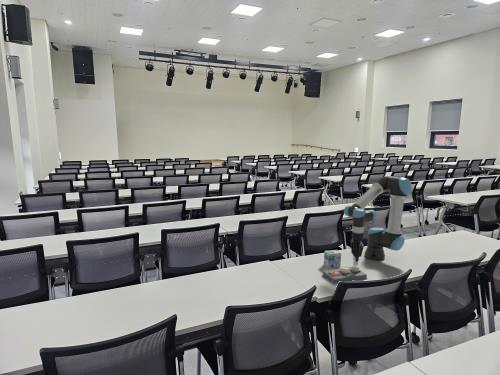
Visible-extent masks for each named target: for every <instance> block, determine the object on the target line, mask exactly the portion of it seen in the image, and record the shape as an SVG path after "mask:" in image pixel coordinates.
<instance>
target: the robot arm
mask: <svg viewBox="0 0 500 375" xmlns="http://www.w3.org/2000/svg"><path fill="white" fill-rule="evenodd" d="M384 192H389V196H390V198H391V200H390V207H389V213H388V223H387V228H386V229H385V228H384V227H371V228H369V229H368V233H367V246H366V248H365V244H364V243H363V239H364V235H365V234H364V232H365V223H368V222H372V221H375V220H376V219H377V215H378V214H377V211H375V210H374V209H366V207H367V206H369V204H370V203H372V202H373V200H375V199H376V198H377V197H378V196H379V195H380V194H383V193H384ZM411 192H412V182H411V180H410V179H408V178H406V177H401V176H391V175H387V176H386V175H385V176H382V177H380V178H379V179H377V180H376V181H375V182H374V183H372V185H371V187H370V188H369V189H368V190H367V191H366V192H365V193H363V195H361V196H360V197H359V198H358V199H357V200H356V201H355V202H354V203H353V204H352V205H346V206H345V208H344V209H343V213H344V215H345V216H346V217H348V218H352V225H351V226H352V228H351V237H352V238H351V239H349V242H350V251H351V254H352V257H353V262H352V263H353V264H352V266H353V265H354V266H359V262H360V261H359V259H360V257H362V256H363V255H362V254H363V250H364V248H365V251H364V257H365V258H367V259H369V260H372V261H383V260H385V258H386V254H385V250H384V248H386V249H389V250H391V251H396V252H397V251H400V250H401V249H402V248H403V246H404V244H405V237H404V236H403V232H402V231H401V225H402V224H401V223H402V218H403V210H404V203H405V198H408V195H410V194H411Z"/></svg>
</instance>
